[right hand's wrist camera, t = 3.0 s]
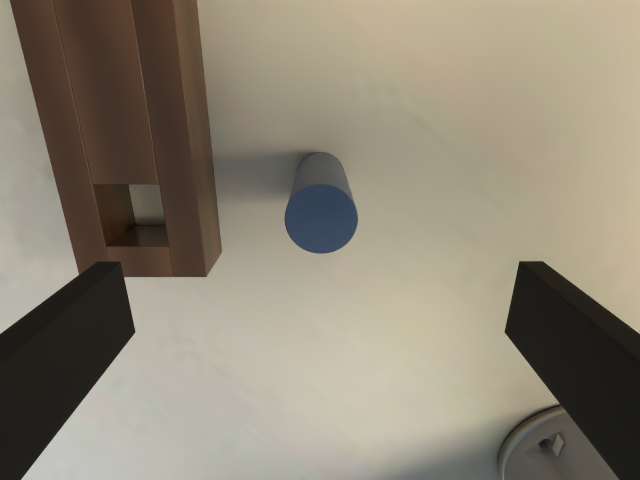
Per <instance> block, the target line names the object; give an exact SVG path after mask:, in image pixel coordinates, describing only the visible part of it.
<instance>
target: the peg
mask: <svg viewBox="0 0 640 480" xmlns="http://www.w3.org/2000/svg"><path fill="white" fill-rule="evenodd" d="M357 222H358V215H357V210H356V207H355V204H354V200H353V197H352V194H351V191H350V188H349V185H348V181H347V178H346V175H345V172H344V169H343V166H342V164H341V163H340V161H339V160H338V159H337V158H336V157H334V156H333V155H331V154H328V153H324V152H318V153H314V154H311V155H309V156H307V157H306V158H305V159H304V160H303V161H302V162H301V164H300V166H299V168H298V172H297V175H296V178H295V182H294V185H293V188H292V191H291V195H290V198H289V201H288V205H287V208H286V212H285V226H286V229H287V232H288V234H289V236H290V237H291V239H292V240H293V241H294V242H295V243H296V244H297V245H298V246H299V247H301V248H302V249H304V250H306V251H309V252H313V253H330V252H333V251H336V250H338V249H340V248H342V247H343V246H344V245H346V244H347V243H348V242H349V241H350V239H351V238H352V237H353V235H354V233H355V230H356V227H357Z"/></svg>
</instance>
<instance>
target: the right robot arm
mask: <svg viewBox="0 0 640 480" xmlns="http://www.w3.org/2000/svg"><path fill="white" fill-rule="evenodd" d="M134 333H135V328H134V323H133V319H132V314H131V309H130V304H129V299H128V295H127V290H126V285H125V280H124V276H123V271H122V266H121V261H97V262H96V263H94V264H93V265H92V266H90V267H89V268H88V269H86V270H85V271H84V272H82V273H81V274H80V275H78V276H77V277H76V278H74V279H73V280H72V281H70V282H69V283H68V284H66V285H65V286H64V287H62V288H61V289H60V290H58V291H57V292H56V293H54V294H53V295H52V296H50V297H49V298H48V299H46V300H45V301H44V302H42V303H41V304H40V305H38V306H37V307H36V308H34V309H33V310H32V311H30V312H29V313H28V314H26V315H25V316H24V317H22V318H21V319H20V320H18V321H17V322H16V323H14V324H13V325H12V326H10V327H9V328H8V329H6V330H5V331H4V332H2V333H1V334H0V480H21V479H22V478H23V476H24V475H25V474H26V472H27V471H28V470H29V469H30V467H31V466H32V465H33V463H34V462H35V461H36V459H37V458H38V457H39V456H40V454H41V453H42V452H43V450H44V449H45V448H46V447H47V445H48V444H49V443H50V441H51V440H52V439H53V438H54V436H55V435H56V434H57V432H58V431H59V430H60V429H61V427H62V426H63V425H64V423H65V422H66V421H67V420H68V418H69V417H70V416H71V414H72V413H73V412H74V411H75V409H76V408H77V407H78V405H79V404H80V403H81V402H82V400H83V399H84V398H85V396H86V395H87V394H88V393H89V391H90V390H91V389H92V387H93V386H94V385H95V384H96V382H97V381H98V380H99V378H100V377H101V376H102V374H103V373H104V372H105V371H106V369H107V368H108V367H109V365H110V364H111V363H112V362H113V360H114V359H115V358H116V356H117V355H118V354H119V353H120V351H121V350H122V349H123V347H124V346H125V345H126V344H127V342H128V341H129V340H130V338H131V337H132V336H133V335H134ZM505 333H506V335H507V336H508V337H509V338H510V340H511V341H512V342H513V344H514V345H515V346H516V347H517V349H518V350H519V351H520V353H521V354H522V355H523V356H524V358H525V359H526V360H527V362H528V363H529V364H530V365H531V367H532V368H533V369H534V371H535V372H536V373H537V374H538V376H539V377H540V378H541V380H542V381H543V382H544V384H545V385H546V386H547V387H548V389H549V390H550V391H551V393H552V394H553V395H554V396H555V398H556V399H557V400H558V402H559V403H560V404H561V405H562V406H559V407H555V408H552V409H549V410H546V411H543V412H541V413H539V414H537V415H535V416H533V417H531V418H529V419H528V420H526V421H525V422H523V423H522V424H521V425H520V426H518V427H517V428H516V429H515V430H514V431H513V432H512V433H511V434H510V435H509V436H508V438H507V439H506V441H505V442H504V444H503V446H502V448H501V450H500V453H499V457H498V470H499V474H500V476H501V478H502V480H640V334H639V333H638V332H636V331H635V330H634V329H632V328H631V327H630V326H628V325H627V324H626V323H624V322H623V321H622V320H620V319H619V318H618V317H616V316H615V315H614V314H612V313H611V312H610V311H608V310H607V309H606V308H604V307H603V306H602V305H600V304H599V303H598V302H596V301H595V300H594V299H592V298H591V297H590V296H588V295H587V294H586V293H584V292H583V291H582V290H580V289H579V288H578V287H576V286H575V285H574V284H572V283H571V282H570V281H568V280H567V279H566V278H564V277H563V276H562V275H560V274H559V273H558V272H556V271H555V270H554V269H552V268H551V267H550V266H548V265H547V264H546V263H544V262H543V261H519V266H518V271H517V276H516V280H515V285H514V290H513V295H512V299H511V304H510V309H509V314H508V319H507V323H506V328H505Z"/></svg>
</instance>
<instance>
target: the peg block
mask: <svg viewBox="0 0 640 480" xmlns="http://www.w3.org/2000/svg"><path fill="white" fill-rule="evenodd" d="M10 3H11V7H12V11H13V15H14V19H15V23H16V27H17V30H18V34H19V38H20V42H21V46H22V50H23V54H24V58H25V62H26V66H27V70H28V74H29V78H30V82H31V86H32V90H33V94H34V98H35V102H36V106H37V110H38V113H39V117H40V121H41V125H42V129H43V133H44V137H45V141H46V145H47V149H48V153H49V157H50V161H51V165H52V169H53V173H54V177H55V181H56V185H57V189H58V193H59V196H60V200H61V204H62V208H63V212H64V216H65V220H66V224H67V228H68V232H69V236H70V240H71V244H72V248H73V252H74V256H75V260H76V264H77V268H78V272H79V275H80V274H81V273H82V272H84V271H85V270H86V269H88V268H89V267H90V266H92V265H93V264H94V263H96V262H97V261H121V266H122V271H123V276H124V277H207V275H208V273H209V272H210V270H211V269H212V267H213V265H214V264H215V262H216V261H217V259H218V258H219V256H220V254H221V253H222V250H221V240H220V230H219V220H218V210H217V200H216V190H215V180H214V170H213V160H212V150H211V140H210V130H209V120H208V110H207V100H206V90H205V80H204V70H203V60H202V50H201V40H200V30H199V20H198V10H197V0H10ZM128 184H160V190H161V197H162V203H163V210H164V216H165V223H166V226H136V225H135V220H134V214H133V209H132V203H131V198H130V192H129V187H128Z"/></svg>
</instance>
